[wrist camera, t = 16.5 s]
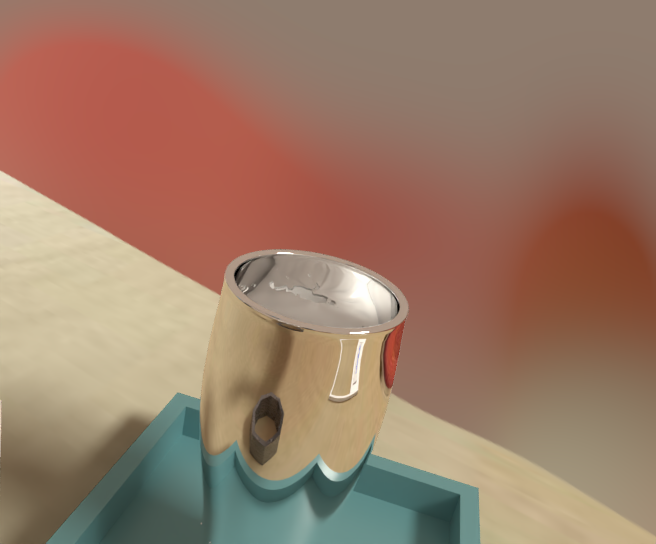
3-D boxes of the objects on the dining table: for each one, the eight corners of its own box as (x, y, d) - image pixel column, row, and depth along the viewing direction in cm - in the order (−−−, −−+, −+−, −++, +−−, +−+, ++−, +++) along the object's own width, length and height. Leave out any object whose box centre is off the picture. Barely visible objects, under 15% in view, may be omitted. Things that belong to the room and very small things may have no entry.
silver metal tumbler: (263, 505, 31) (320, 239, 25) (359, 605, 27) (453, 311, 21) (140, 571, 26) (178, 257, 20) (234, 704, 22) (314, 356, 16)
